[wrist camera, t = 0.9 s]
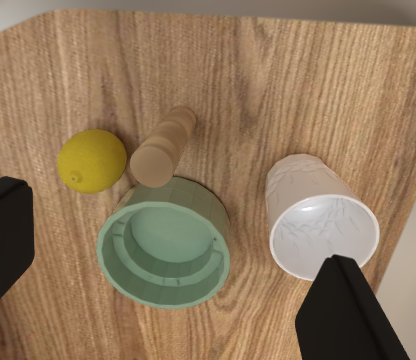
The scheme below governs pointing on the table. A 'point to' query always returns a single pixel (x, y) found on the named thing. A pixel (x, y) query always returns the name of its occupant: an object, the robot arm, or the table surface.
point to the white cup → (315, 217)
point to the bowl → (166, 245)
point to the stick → (163, 148)
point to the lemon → (91, 161)
